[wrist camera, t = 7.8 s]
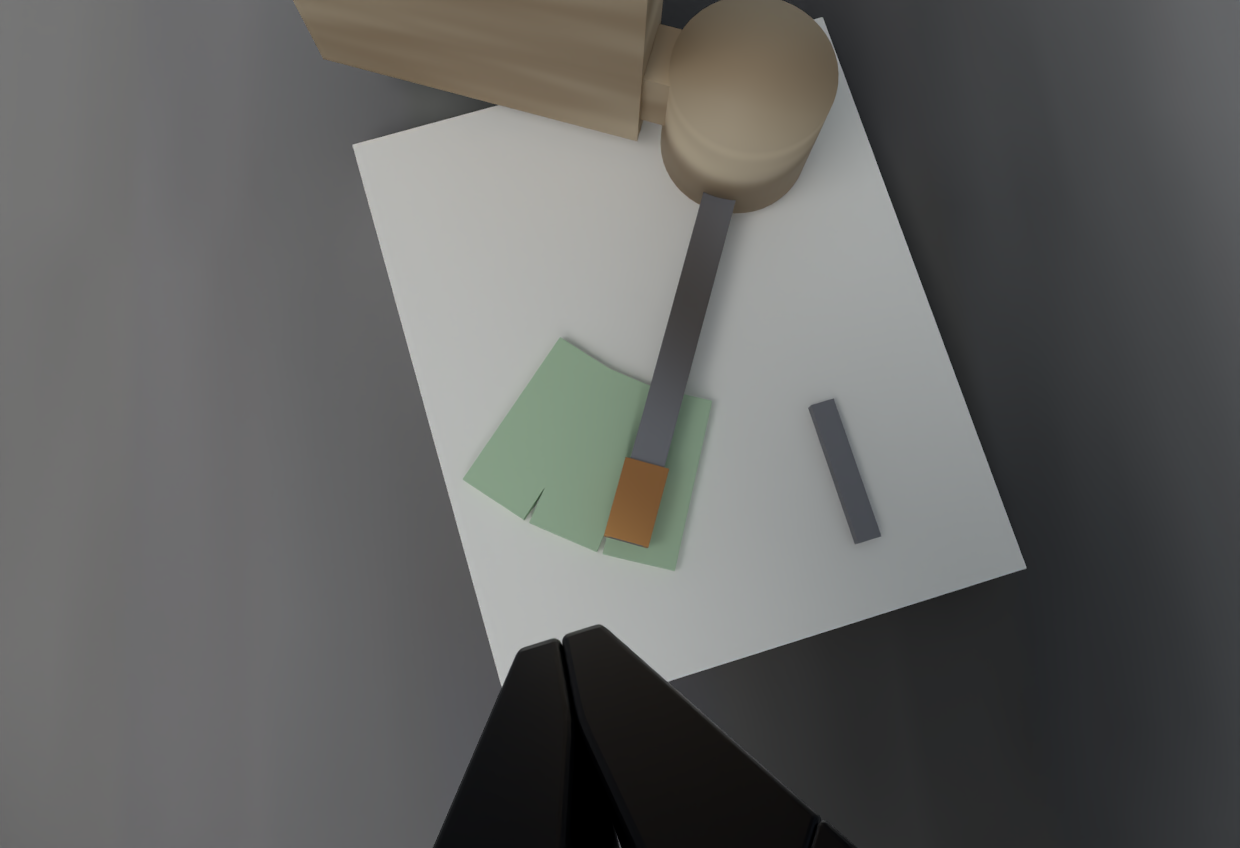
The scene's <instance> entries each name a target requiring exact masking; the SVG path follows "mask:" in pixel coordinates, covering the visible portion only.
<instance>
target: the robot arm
mask: <svg viewBox="0 0 1240 848" xmlns="http://www.w3.org/2000/svg"><path fill="white" fill-rule="evenodd" d="M616 834H617V835H616ZM617 836H618V839H619V842H620V845H621V848H857V847H856V846H855V845H854V844H852V843H851V842H850V841H849V840H848V839H847V838H846V837H845V836H843V835H842V834H841V833H840V832H839V831H838V830H837V829H835V828H834V827H833V826H832V825H831V824H830V823H829V822H827V821H821V818H820V816H819V815H818V814H817V813H816V812H815V811H813V810H812V809H811V808H810V807H809V806H808V805H807V804H805V803H804V802H803V801H802V800H801V799H800V798H799V797H798V796H796V795H795V794H794V793H793V792H792V791H791V790H790V789H789V788H787V787H786V786H785V785H784V784H783V783H782V782H781V781H779V780H778V779H777V778H776V777H775V776H774V775H773V774H772V773H770V772H769V771H768V770H767V769H766V768H765V767H764V766H762V765H761V764H760V763H759V762H758V761H757V760H756V759H755V758H753V757H752V756H751V755H750V754H749V753H748V752H747V751H745V750H744V749H743V748H742V747H741V746H740V745H739V744H738V743H736V742H735V741H734V740H733V739H732V738H731V737H730V736H728V735H727V734H726V733H725V732H724V731H723V730H722V729H721V728H719V727H718V726H717V725H716V724H715V723H714V722H713V721H711V720H710V719H709V718H708V717H707V716H706V715H705V714H704V713H702V712H701V711H700V710H699V709H698V708H697V707H696V706H695V705H693V704H692V703H691V702H690V701H689V700H688V699H687V698H685V697H684V696H683V695H682V694H681V693H680V692H679V691H678V690H676V689H675V688H674V687H673V686H672V685H671V684H670V683H668V682H667V681H666V680H665V679H664V678H663V677H662V676H661V675H659V674H658V673H657V672H656V671H655V670H654V669H653V668H651V667H650V666H649V665H648V664H647V663H646V662H645V661H644V660H642V659H641V658H640V657H639V656H638V655H637V654H636V653H634V652H633V651H632V650H631V649H630V648H629V647H628V646H627V645H625V644H624V643H623V642H622V641H621V640H620V639H619V638H618V637H616V636H615V635H614V634H613V633H612V632H611V631H610V630H608V629H607V628H606V627H604V626H603V625H600V624H597V625H593V626H590V627H586V628H583V629H580V630H577V631H574V632H570V633H568V634H566V635H565V636H564V637H563V639H562V643H561V641H560V640H558V639H556V638H551V639H548V640H545V641H542V642H539V643H536V644H532V645H529V646H526V647H523V648H521V649H520V650H519V651H518V652H517V654H516V656H515V658H514V660H513V663H512V665H511V667H510V670H509V672H508V674H507V677H506V679H505V681H504V684H503V686H502V688H501V691H500V693H499V695H498V698H497V700H496V702H495V705H494V707H493V709H492V712H491V714H490V716H489V719H488V721H487V723H486V726H485V728H484V730H483V733H482V735H481V737H480V739H479V742H478V744H477V746H476V749H475V751H474V753H473V756H472V758H471V760H470V763H469V765H468V767H467V770H466V772H465V774H464V777H463V779H462V781H461V784H460V786H459V788H458V791H457V793H456V795H455V798H454V800H453V802H452V805H451V807H450V809H449V812H448V814H447V816H446V819H445V821H444V823H443V826H442V828H441V830H440V833H439V835H438V837H437V840H436V842H435V844H434V847H433V848H619V844H618V839H617Z"/></svg>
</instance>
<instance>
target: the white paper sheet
mask: <svg viewBox="0 0 1240 848" xmlns="http://www.w3.org/2000/svg"><path fill="white" fill-rule="evenodd" d="M813 20H814V21H815V22H816V23H817V24H818V25H819V26H820V27H821V28H822V30H823V31H824V32H825V34H826V35H827V37H828V39H829V41H830V42H831V44H832V47H833V49H834V46H833V43H832V41H831V38H830V35H829V33H828V30H827V27H826V25H825V22H824V19H823V17H821V18H817V19H813ZM834 52H835V49H834ZM835 55H836V59H837V63H838V72H839V76H838V88H837V93H836V96H835V99H834V102H833V105H832V107H831V109H830V111H829V113H828V116H827V118H826V120H825V122H824V124H823V126H822V128H821V131H820V133H819V135H818V137H817V139H816V141H815V144H814V146H813V148H812V150H811V152H810V154H809V156H808V159H807V161H806V163H805V165H804V167H803V169H802V171H801V174H800V176H799V178H798V179H797V181H796V182H795V184H794V185H793V187H792V188H791V189H790V190H789V191H788V192H787V193H786V194H785V195H784V196H783V197H782V198H780V199H779V200H778V201H776V202H775V203H773V204H771V205H769V206H767V207H765V208H763V209H760V210H756V211H753V212H747V213H735V214H734V213H732V217H731V220H730V224H729V228H728V232H727V235H726V239H725V243H724V247H723V250H722V254H721V258H720V261H719V265H718V269H717V273H716V276H715V280H714V284H713V288H712V291H711V295H710V299H709V303H708V306H707V310H706V314H705V318H704V321H703V325H702V329H701V332H700V336H699V340H698V344H697V347H696V351H695V355H694V359H693V362H692V366H691V370H690V374H689V377H688V381H687V385H686V389H685V392H684V396H683V400H682V403H681V407H680V411H679V415H678V418H677V422H676V426H675V430H674V433H673V437H672V441H671V445H670V448H669V452H668V456H667V459H666V463H665V467H664V468H668V469H669V472H668V476H667V479H666V483H665V487H664V491H663V494H662V498H661V502H660V506H659V509H658V513H657V517H656V521H655V524H654V528H653V532H652V536H651V539H650V543H649V547H648V548H644V547H640V546H637V545H633V544H629V543H626V542H622V541H619V540H615V539H611V538H608V537H604V533H605V530H606V526H607V522H608V519H609V515H610V511H611V508H612V504H613V500H614V497H615V493H616V490H617V486H618V482H619V479H620V475H621V471H622V468H623V464H624V461H625V457H628V458H631V454H632V451H633V447H634V443H635V440H636V436H637V432H638V429H639V425H640V421H641V418H642V414H643V410H644V407H645V403H646V399H647V396H648V392H649V389H650V385H651V381H652V378H653V374H654V370H655V367H656V363H657V359H658V356H659V352H660V348H661V345H662V341H663V338H664V334H665V330H666V327H667V323H668V319H669V316H670V312H671V308H672V305H673V301H674V297H675V294H676V290H677V286H678V283H679V279H680V276H681V272H682V268H683V265H684V261H685V257H686V254H687V250H688V246H689V243H690V239H691V235H692V232H693V228H694V225H695V221H696V217H697V214H698V210H699V206H700V205H699V204H697V203H696V202H694V201H693V200H691V199H689V198H688V197H687V196H686V195H685V194H683V193H682V192H681V191H680V190H679V188H678V187H677V186H676V185H675V184H674V182H673V181H672V180H671V178H670V176H669V174H668V172H667V171H666V168H665V165H664V163H663V159H662V154H661V144H660V142H661V131H662V125H660V124H656V123H652V122H648V121H644V120H643V123H642V126H641V130H640V133H639V137H638V140H637V141H634V140H630V139H626V138H622V137H618V136H615V135H611V134H607V133H603V132H599V131H596V130H592V129H588V128H584V127H580V126H577V125H573V124H569V123H565V122H561V121H558V120H554V119H550V118H546V117H542V116H539V115H535V114H531V113H527V112H523V111H520V110H516V109H512V108H508V107H504V106H501V105H497V106H493V107H490V108H486V109H482V110H479V111H475V112H471V113H468V114H464V115H460V116H457V117H453V118H449V119H446V120H442V121H438V122H435V123H431V124H427V125H424V126H420V127H416V128H413V129H409V130H405V131H402V132H398V133H394V134H390V135H387V136H383V137H379V138H376V139H372V140H368V141H365V142H361V143H357V144H354V145H353V149H354V152H355V156H356V160H357V163H358V167H359V170H360V174H361V178H362V181H363V185H364V189H365V192H366V196H367V200H368V203H369V207H370V210H371V214H372V218H373V221H374V225H375V229H376V232H377V236H378V240H379V243H380V247H381V250H382V254H383V258H384V261H385V265H386V269H387V272H388V276H389V279H390V283H391V287H392V290H393V294H394V298H395V301H396V305H397V309H398V312H399V316H400V319H401V323H402V327H403V330H404V334H405V338H406V341H407V345H408V349H409V352H410V356H411V359H412V363H413V367H414V370H415V374H416V378H417V381H418V385H419V388H420V392H421V396H422V399H423V403H424V407H425V410H426V414H427V418H428V421H429V425H430V428H431V432H432V436H433V439H434V443H435V447H436V450H437V454H438V457H439V461H440V465H441V468H442V472H443V476H444V479H445V483H446V487H447V490H448V494H449V497H450V501H451V505H452V508H453V512H454V516H455V519H456V523H457V527H458V530H459V534H460V537H461V541H462V545H463V548H464V552H465V556H466V559H467V563H468V566H469V570H470V574H471V577H472V581H473V585H474V588H475V592H476V596H477V599H478V603H479V606H480V610H481V614H482V617H483V621H484V625H485V628H486V632H487V636H488V639H489V643H490V646H491V650H492V654H493V657H494V661H495V665H496V668H497V672H498V675H499V679H500V683H501V686H503V684H504V681H505V679H506V677H507V674H508V672H509V670H510V667H511V665H512V663H513V660H514V658H515V656H516V654H517V652H518V651H519V650H520V649H521V648H523V647H526V646H529V645H532V644H536V643H539V642H542V641H545V640H548V639H551V638H556V639H558V640H560V641H561V643H562V639H563V637H564V636H565V635H566V634H568V633H570V632H574V631H577V630H580V629H583V628H586V627H590V626H593V625H597V624H600V625H603V626H604V627H606V628H607V629H608V630H610V631H611V632H612V633H613V634H614V635H615V636H616V637H618V638H619V639H620V640H621V641H622V642H623V643H624V644H625V645H627V646H628V647H629V648H630V649H631V650H632V651H633V652H634V653H636V654H637V655H638V656H639V657H640V658H641V659H642V660H644V661H645V662H646V663H647V664H648V665H649V666H650V667H651V668H653V669H654V670H655V671H656V672H657V673H658V674H659V675H661V676H662V677H663V678H664V679H665V680H666V681H667V682H668V681H671V680H674V679H678V678H681V677H684V676H687V675H690V674H693V673H697V672H700V671H703V670H706V669H709V668H712V667H716V666H719V665H722V664H725V663H728V662H731V661H735V660H738V659H741V658H744V657H747V656H750V655H754V654H757V653H760V652H763V651H766V650H769V649H773V648H776V647H779V646H782V645H785V644H788V643H792V642H795V641H798V640H801V639H804V638H807V637H811V636H814V635H817V634H820V633H823V632H826V631H830V630H833V629H836V628H839V627H842V626H845V625H849V624H852V623H855V622H858V621H861V620H864V619H868V618H871V617H874V616H877V615H880V614H883V613H887V612H890V611H893V610H896V609H899V608H902V607H906V606H909V605H912V604H915V603H918V602H921V601H925V600H928V599H931V598H934V597H937V596H940V595H944V594H947V593H950V592H953V591H956V590H959V589H963V588H966V587H969V586H972V585H975V584H978V583H982V582H985V581H988V580H991V579H994V578H997V577H1001V576H1004V575H1007V574H1010V573H1013V572H1016V571H1020V570H1023V569H1026V565H1025V562H1024V560H1023V557H1022V554H1021V551H1020V549H1019V546H1018V543H1017V541H1016V538H1015V535H1014V533H1013V530H1012V527H1011V524H1010V522H1009V519H1008V516H1007V514H1006V511H1005V508H1004V506H1003V503H1002V500H1001V497H1000V495H999V492H998V489H997V487H996V484H995V481H994V478H993V476H992V473H991V470H990V468H989V465H988V462H987V460H986V457H985V454H984V451H983V449H982V446H981V443H980V441H979V438H978V435H977V433H976V430H975V427H974V424H973V422H972V419H971V416H970V414H969V411H968V408H967V406H966V403H965V400H964V397H963V395H962V392H961V389H960V387H959V384H958V381H957V379H956V376H955V373H954V370H953V368H952V365H951V362H950V360H949V357H948V354H947V352H946V349H945V346H944V343H943V341H942V338H941V335H940V333H939V330H938V327H937V324H936V322H935V319H934V316H933V314H932V311H931V308H930V306H929V303H928V300H927V297H926V295H925V292H924V289H923V287H922V284H921V281H920V279H919V276H918V273H917V270H916V268H915V265H914V262H913V260H912V257H911V254H910V252H909V249H908V246H907V243H906V241H905V238H904V235H903V233H902V230H901V227H900V225H899V222H898V219H897V216H896V214H895V211H894V208H893V206H892V203H891V200H890V197H889V195H888V192H887V189H886V187H885V184H884V181H883V179H882V176H881V173H880V170H879V168H878V165H877V162H876V160H875V157H874V154H873V152H872V149H871V146H870V143H869V141H868V138H867V135H866V133H865V130H864V127H863V125H862V122H861V119H860V116H859V114H858V111H857V108H856V106H855V103H854V100H853V98H852V95H851V92H850V89H849V87H848V84H847V81H846V79H845V76H844V73H843V70H842V68H841V65H840V62H839V60H838V57H837V54H836V52H835Z"/></svg>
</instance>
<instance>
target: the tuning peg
mask: <svg viewBox="0 0 1240 848" xmlns="http://www.w3.org/2000/svg"><path fill="white" fill-rule="evenodd" d="M293 1H294V3H295V5H296V7H297V9H298V11H299V13H300V15H301V17H302V19H303V21H304V23H305V24H306V26H307V28H308V30H309V32H310V34H311V36H312V38H313V40H314V42H315V44H316V46H317V48H318V49H319V51H320V53H321V55H322V57H323V59H326V60H330V61H333V62H337V63H341V64H345V65H349V66H352V67H356V68H360V69H364V70H368V71H371V72H375V73H379V74H383V75H387V76H390V77H394V78H398V79H402V80H406V81H409V82H413V83H417V84H421V85H425V86H428V87H432V88H436V89H440V90H444V91H447V92H451V93H455V94H459V95H463V96H466V97H470V98H474V99H478V100H482V101H485V102H489V103H493V104H497V105H501V106H504V107H508V108H512V109H516V110H520V111H523V112H527V113H531V114H535V115H539V116H542V117H546V118H550V119H554V120H558V121H561V122H565V123H569V124H573V125H577V126H580V127H584V128H588V129H592V130H596V131H599V132H603V133H607V134H611V135H615V136H618V137H622V138H626V139H630V140H634V141H637V140H638V137H639V133H640V130H641V126H642V123H643V120H644V121H648V122H652V123H656V124H660V125H662V131H661V142H660V144H661V154H662V159H663V163H664V165H665V168H666V171H667V172H668V174H669V176H670V178H671V180H672V181H673V182H674V184H675V185H676V186H677V187H678V188H679V190H680V191H681V192H682V193H683V194H685V195H686V196H687V197H688V198H689V199H691V200H693V201H694V202H696V203H697V204H699V205H700V206H699V210H698V214H697V217H696V221H695V225H694V228H693V232H692V235H691V239H690V243H689V246H688V250H687V254H686V257H685V261H684V265H683V268H682V272H681V276H680V279H679V283H678V286H677V290H676V294H675V297H674V301H673V305H672V308H671V312H670V316H669V319H668V323H667V327H666V330H665V334H664V338H663V341H662V345H661V348H660V352H659V356H658V359H657V363H656V367H655V370H654V374H653V378H652V381H651V385H650V389H649V392H648V396H647V399H646V403H645V407H644V410H643V414H642V418H641V421H640V425H639V429H638V432H637V436H636V440H635V443H634V447H633V451H632V454H631V458H628V457H625V461H624V464H623V468H622V471H621V475H620V479H619V482H618V486H617V490H616V493H615V497H614V500H613V504H612V508H611V511H610V515H609V519H608V522H607V526H606V530H605V533H604V537H608V538H611V539H615V540H619V541H622V542H626V543H629V544H633V545H637V546H640V547H644V548H648V547H649V543H650V539H651V536H652V532H653V528H654V524H655V521H656V517H657V513H658V509H659V506H660V502H661V498H662V494H663V491H664V487H665V483H666V479H667V476H668V472H669V469H668V468H664V467H665V463H666V459H667V456H668V452H669V448H670V445H671V441H672V437H673V433H674V430H675V426H676V422H677V418H678V415H679V411H680V407H681V403H682V400H683V396H684V392H685V389H686V385H687V381H688V377H689V374H690V370H691V366H692V362H693V359H694V355H695V351H696V347H697V344H698V340H699V336H700V332H701V329H702V325H703V321H704V318H705V314H706V310H707V306H708V303H709V299H710V295H711V291H712V288H713V284H714V280H715V276H716V273H717V269H718V265H719V261H720V258H721V254H722V250H723V247H724V243H725V239H726V235H727V232H728V228H729V224H730V220H731V217H732V213H734V214H735V213H747V212H753V211H756V210H760V209H763V208H765V207H767V206H769V205H771V204H773V203H775V202H776V201H778V200H779V199H780V198H782V197H783V196H784V195H785V194H786V193H787V192H788V191H789V190H790V189H791V188H792V187H793V185H794V184H795V182H796V181H797V179H798V178H799V176H800V174H801V171H802V169H803V167H804V165H805V163H806V161H807V159H808V156H809V154H810V152H811V150H812V148H813V146H814V144H815V141H816V139H817V137H818V135H819V133H820V131H821V128H822V126H823V124H824V122H825V120H826V118H827V116H828V113H829V111H830V109H831V107H832V105H833V102H834V99H835V96H836V93H837V88H838V76H839V72H838V63H837V59H836V55H835V52H834V49H833V47H832V44H831V42H830V41H829V39H828V37H827V35H826V34H825V32H824V31H823V30H822V28H821V27H820V26H819V25H818V24H817V23H816V22H815V21H814V20H813V19H812V18H811V17H810V16H809V15H807V14H806V13H805V12H804V11H802V10H800V9H799V8H797V7H796V6H794V5H792V4H789V3H787V2H785V1H782V0H721V1H718V2H716V3H714V4H711V5H710V6H708V7H706V8H705V9H703V10H701V11H700V12H699V13H698V14H696V15H695V16H694V17H693V18H692V19H691V20H690V21H689V22H688V23H687V24H686V26H685V27H684V28H683V30H682V29H678V28H674V27H670V26H666V25H662V24H661V16H662V6H663V0H293Z"/></svg>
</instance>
